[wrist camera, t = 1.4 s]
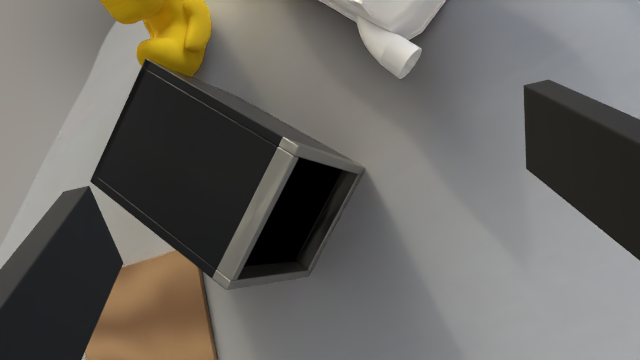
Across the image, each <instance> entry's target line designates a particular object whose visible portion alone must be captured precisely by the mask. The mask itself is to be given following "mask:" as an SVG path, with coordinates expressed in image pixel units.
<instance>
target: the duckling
mask: <svg viewBox="0 0 640 360" xmlns="http://www.w3.org/2000/svg"><path fill="white" fill-rule="evenodd" d="M100 1H101V3H102V4H103V6H104V7H105V8H106V9H107V10H108V12H109V13H110V14H111V15H112V16H113V18H114V19H115V20H117V21H118V22H120V23H123V24H133V23H136V22H138V21H141V20H143V22H144V24H145V26H146V28H147V30H148V31H149V33H150V37H151V39H149V40H145V41H143V42H141V43H140V44H139V45H138V47H137V51H136V54H137V59H138V61H139V63H140V64H141V66H142V65H143V63H144V61H145V59H149V60H151V61H154V62H156V63H159V64H161V65H163V66H166V67H168V68H171V69H173V70H175V71H178V72H180V73H182V74H185V75H187V76H190V77H191V76H192V75H193V74H195V73H196V71H197V70H198V69H199V67H200V66H201V63H202V61H203V57H204V53H205V49H206V45H207V43H208V41H209V39H210V35H211V31H212V24H211V18H210V13H209V9H208V7H207V5H206V3H205V2H204V0H100Z"/></svg>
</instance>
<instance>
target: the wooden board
mask: <svg viewBox="0 0 640 360" xmlns="http://www.w3.org/2000/svg"><path fill="white" fill-rule="evenodd" d="M85 351H86V359H87V360H217V355H216V350H215V344H214V339H213V333H212V327H211V322H210V316H209V311H208V305H207V300H206V294H205V288H204V283H203V277H202V272H201V269H200V268H198V267H197V266H196V265H194V264H193V263H192V262H191V261H189V260H188V259H187V258H186V257H184V256H183V255H182V254H181V253H179V252H178V251H177V250H176V251H173V252H170V253H167V254H164V255H160V256H157V257H154V258H151V259H148V260H145V261H141V262H138V263H135V264H132V265H129V266H126V267H122V268H121V270H120V272H119V274H118V277H117V279H116V281H115V283H114V286H113V288H112V290H111V293H110V295H109V297H108V300H107V302H106V304H105V306H104V309H103V311H102V313H101V316H100V318H99V320H98V323H97V325H96V327H95V329H94V332H93V334H92V336H91V339H90V341H89V343H88V346H87V348H86V350H85Z"/></svg>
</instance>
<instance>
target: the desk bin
mask: <svg viewBox="0 0 640 360" xmlns="http://www.w3.org/2000/svg"><path fill="white" fill-rule="evenodd" d="M364 170H365V167H363V166H361V165H359V164H358V163H356V162H354V161H352V160H350V159H349V158H347V157H345V156H343V155H341V154H340V153H338V152H336V151H334V150H332V149H331V148H329V147H327V146H325V145H323V144H322V143H320V142H318V141H316V140H314V139H313V138H311V137H309V136H307V135H305V134H304V133H302V132H300V131H298V130H296V129H295V128H293V127H291V126H289V125H287V124H286V123H284V122H282V121H280V120H278V119H277V118H275V117H273V116H271V115H269V114H268V113H266V112H264V111H262V110H260V109H259V108H257V107H255V106H253V105H251V104H250V103H248V102H246V101H244V100H242V99H241V98H239V97H237V96H235V95H232V94H230V93H228V92H225V91H223V90H221V89H218V88H216V87H213V86H211V85H209V84H206V83H204V82H202V81H199V80H197V79H194V78H192V77H190V76H187V75H185V74H182V73H180V72H178V71H175V70H173V69H171V68H168V67H166V66H163V65H161V64H159V63H156V62H154V61H151V60H149V59H145V61H144V63H143V65H142V68H141V70H140V72H139V75H138V77H137V79H136V81H135V83H134V86H133V88H132V90H131V92H130V94H129V97H128V99H127V101H126V103H125V106H124V108H123V110H122V112H121V114H120V117H119V119H118V121H117V123H116V125H115V128H114V130H113V132H112V134H111V136H110V139H109V141H108V143H107V145H106V147H105V150H104V152H103V154H102V156H101V159H100V161H99V163H98V165H97V167H96V170H95V172H94V174H93V176H92V178H91V182H92V183H93V184H94V185H95V186H97V187H98V188H99V189H100V190H102V191H103V192H104V193H105V194H107V195H108V196H109V197H110V198H112V199H113V200H114V201H115V202H117V203H118V204H119V205H120V206H122V207H123V208H124V209H125V210H127V211H128V212H129V213H130V214H132V215H133V216H134V217H135V218H137V219H138V220H139V221H141V222H142V223H143V224H144V225H146V226H147V227H148V228H149V229H151V230H152V231H153V232H154V233H156V234H157V235H158V236H159V237H161V238H162V239H163V240H164V241H166V242H167V243H168V244H169V245H171V246H172V247H173V248H174V249H176V250H177V251H178V252H179V253H181V254H182V255H183V256H184V257H186V258H187V259H188V260H189V261H191V262H192V263H193V264H194V265H196V266H197V267H198V268H200V269H201V270H202V271H203V272H205V273H206V274H207V275H208V276H210V277H211V278H212V279H213V280H215V281H216V282H217V283H218V284H220V285H221V286H222V287H223V288H225V289H226V290H229V289H235V288H241V287H247V286H253V285H259V284H266V283H272V282H278V281H284V280H290V279H296V278H303V277H308V276H309V274H310V272H311V270H312V268H313V266H314V265H315V263H316V261H317V259H318V257H319V255H320V253H321V251H322V249H323V248H324V246H325V244H326V242H327V240H328V238H329V236H330V234H331V232H332V231H333V229H334V227H335V225H336V223H337V221H338V219H339V217H340V215H341V213H342V212H343V210H344V208H345V206H346V204H347V202H348V200H349V198H350V196H351V195H352V193H353V191H354V189H355V187H356V185H357V183H358V181H359V179H360V178H361V175H362V174H363V172H364Z"/></svg>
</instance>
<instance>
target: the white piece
mask: <svg viewBox="0 0 640 360" xmlns="http://www.w3.org/2000/svg"><path fill="white" fill-rule="evenodd" d="M319 1H321V2H322V3H324V4H326V5H327V6H329V7H331V8H332V9H334V10H336V11H337V12H339V13H341V14H342V15H344V16H346V17H348V18H349V19H351V20H353V21H354V22H356V23H357V26H358V30H359V34H360V36H361V38H362V40H363V42H364V44H365V46H366V48H367V49H368V51H369V52H370V53H371V55H372V56H373V57H374V58H375V59H376V60H377V61H378V62H379V63H380V64H381V65H382V66H383V67H384V68H386V69H387V70H388V71H390V72H391V73H392V74H394V75H395V76H396V77H398V78H399V79H402V78H404V77H405V76H406V75H407V74H408V73H409V72H410V71H411V69H412V68H413V67H414V65H415V64H416V62H417V61H418V59H419V57H420V55H421V52H422V49H421V48H420V47H418V46H416V45H415V44H413V43H412V42H410V41H409V40H410V39H412V38H413V37H415V36H417V35H418V34H420V33H422V32H423V31H424V29H425V28H426V27H427V25H428V24H429V23H430V21H431V20H432V19H433V17H434V16H435V15H436V13H437V12H438V11H439V9H440V8H441V7H442V5H443V4H444V3H445V1H446V0H319Z"/></svg>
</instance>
